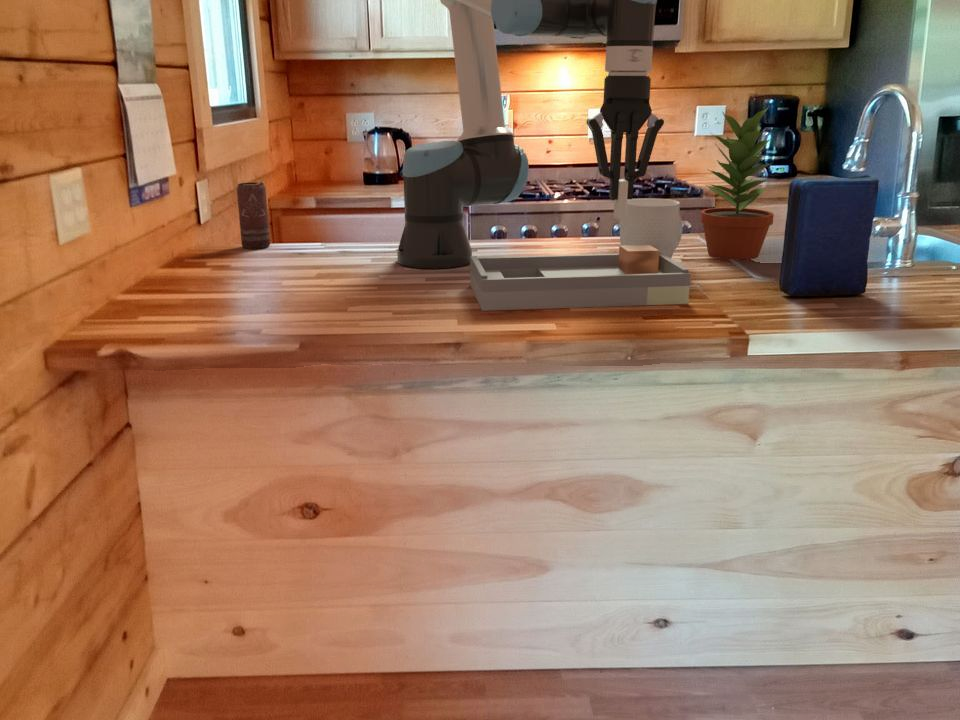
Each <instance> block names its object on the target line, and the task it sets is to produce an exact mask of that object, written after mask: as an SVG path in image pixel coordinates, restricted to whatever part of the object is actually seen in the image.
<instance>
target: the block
mask: <svg viewBox="0 0 960 720" xmlns="http://www.w3.org/2000/svg"><path fill="white" fill-rule="evenodd" d="M618 247H619V249H618V254H619V265H618V268H619V269H621V270H622V271H623V272H625V273H626V274H656V273H658V263H659V250H657V249H656V248H654V247H652V246H651V245H621V244H620V245H618Z"/></svg>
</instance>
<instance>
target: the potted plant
mask: <svg viewBox="0 0 960 720" xmlns="http://www.w3.org/2000/svg"><path fill="white" fill-rule="evenodd" d="M770 106H771V105H768V107H767V108H766V109H764V110H759V111H758V112H756V113H755V114H754V115H753V117H750V118H747V119H745V120H744V121H743V122H742V126H741V125H740V123H739V122H738V121H737V120H736V119H735V118H734V117H733V116H730V115H727V114H725V112H722V114H723V117H724V118H725V119H726V121H727V123H728V124H729V127H730V128H731V129H732V131H733V133H734V134H735V136H736V139H734V138H730V137H729V136H728V135H726V138H723V137H721V136H718V135H717V136H716V135H714V134H713V133H712V132H710V134H711V135H712V136H713V137H715V138H716V139H717V140H718V141H719V142H720V143H721V144H722V145H724V146H725V147H726V148H727V149H728V156H729V157H728V156H727V155H726V154H725V153H724V151H723V150H722V149H721V148H720V147H719V146H718V145H717V144H716V143H714V145H715V146H716V147H717V150H719V152H720V153H721V154H722V156H723V157H724V158H725V160H726V161H727V163H724V162H721V161H719V160H717V159H716V161H717V163H718V164H719V166H721V168H723V169H724V171H726V172H727V174H729V177H728V176H727V175H725V174H724V173H721V172H719V171H715V170H709V169H708V171H709V172H710V173H712V174H714V175H715V176H716V177H718V178H720V179H721V180H722V181H724V182H725V183H727V184H728V185H729V186H731V187H733V188H729V187H726V186H724V185H716V184H710V183H708V184H706V183H705V184H704V185H705V186H706V187H707V188H708V189H709V190H711V191H713V192H714V193H715V194H717V195H718V196H719V197H721V199H722V198H723V200H725V201H727V202H728V203H730V205H732V206H734V207H713V208H707V209H706V208H705V209H702V210H701V211H700V215H699V216H700V217H699V222H700V223H702V227H703V228H702V229H703V233H704V239H705V243H706V249H707V254H708V256H710V257H712V258H717V259H722V260H731V259H746V260H754V259H757V258H759V256H760V254H761V252H762V248H763V246H764V242H765V239H766V237H767V234H768V231H769V228H770V227H771V226H773V223H774V215H775V213H774V212H772V211H769V210H765V209H757V208H746V207H747V206H749V205H750V204H751V203H752V202H754V201H755V200H756V199H757V198H758V197H759V196H761V195H762V194H763V193H764V192H765V191H766V188H767V187H768V185H766V186H764V187H763V188H755V187H757V186H758V185H760V184H763V183H764V182H766V181H768V180H769V178H766V179H764V180H753V177H752V178H750V179H746V178H748V177H750V176H752V175H753V174H755V173H757V172H759V171H761V170H762V169H765V168H767V167H768V166H770V165H772V164H773V163H774V162H771V163H766V164H759V165H756V164H757V163H758V162H759V161H760V159H762V158H763V153H760V152H762V150H764V149H765V145H766V144H767V143H769V142H770V141H771V140H772V138H773V136H772V137H771V138H769V139H768V140H760V141H759V142H757V141H758V139H759V137H760V136H761V133H762V132H761V129H762V127H761V126H760V125H761V123H760V121H761V119H762V117H763V116H764V115H765V113H766V112H767V111H768V109H769V107H770ZM756 142H757V143H756ZM755 165H756V166H755ZM709 185H710V186H709ZM753 188H755V189H753ZM751 189H752V190H751ZM749 190H751V191H749ZM730 194H731V195H730ZM746 260H745V261H746Z"/></svg>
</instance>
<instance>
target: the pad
mask: <svg viewBox="0 0 960 720" xmlns="http://www.w3.org/2000/svg"><path fill="white" fill-rule="evenodd" d="M658 273H663V272H662V271H660V270H659V269H658ZM656 274H657V273H656ZM690 288H691V287H690V286H667V287H648V293H647V305H646V306H659V305H660V306H661V305H663V306H664V305H688V304H689V300H690Z"/></svg>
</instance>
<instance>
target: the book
mask: <svg viewBox="0 0 960 720" xmlns="http://www.w3.org/2000/svg"><path fill="white" fill-rule="evenodd" d="M879 182H880V181H879V178H876V177H873V176H871V175H869V174H865V175H857V176H852V177H835V178H834V177H833V178H831V177H830V178H829V177H828V178H811V177H803V178H793V179H792V180H791V181H790V183H789V187H788V200H787V212H786V219H785V225H784V234H783V235H784V238H783V247H782V249H783V250H782V253H781V254H782V255H781V264H780V271H779V280H778V281H779V284H778V285H779V291H780V292H782V293H784V294H786V295H787V296H791V297H830V296H831V297H833V296H853V295H855V296H856V295H858V296H859V295H861V294H862V295H863V294H865V293H866V290H867V289H866V288H867V285H868V275H869V273H868V272H869V271H868V269H869V267H868V265H869V264H868V258H869V250H870V241H871V240H870V239H871V236H872V233H873V225H874V218H875V210H876V206H877V205H876V204H877V198H878V193H879Z"/></svg>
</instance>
